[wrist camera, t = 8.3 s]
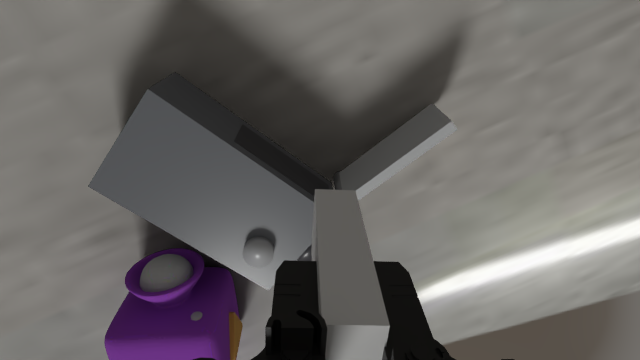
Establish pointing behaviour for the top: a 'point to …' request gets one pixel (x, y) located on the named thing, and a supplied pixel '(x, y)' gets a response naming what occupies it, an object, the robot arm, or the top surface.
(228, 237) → the box
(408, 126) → the side door
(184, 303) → the toy camera
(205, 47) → the top surface
